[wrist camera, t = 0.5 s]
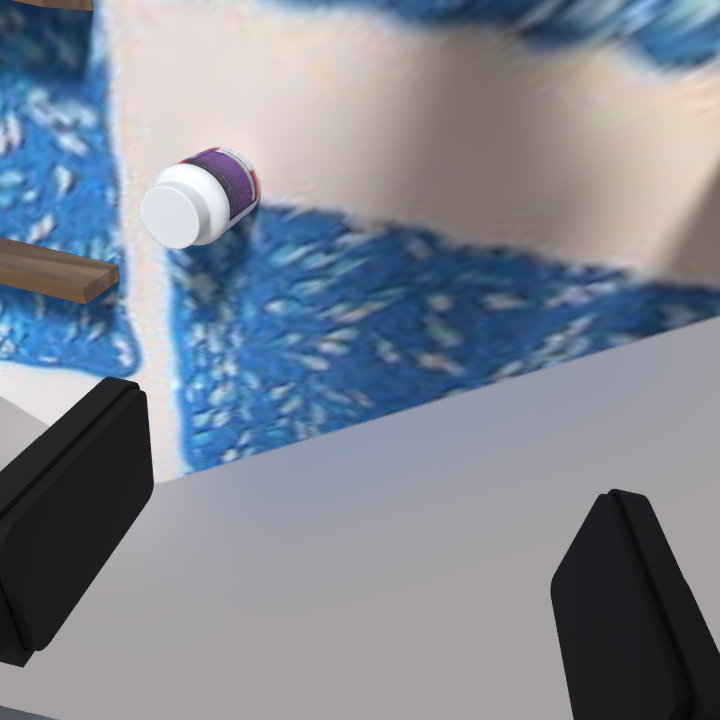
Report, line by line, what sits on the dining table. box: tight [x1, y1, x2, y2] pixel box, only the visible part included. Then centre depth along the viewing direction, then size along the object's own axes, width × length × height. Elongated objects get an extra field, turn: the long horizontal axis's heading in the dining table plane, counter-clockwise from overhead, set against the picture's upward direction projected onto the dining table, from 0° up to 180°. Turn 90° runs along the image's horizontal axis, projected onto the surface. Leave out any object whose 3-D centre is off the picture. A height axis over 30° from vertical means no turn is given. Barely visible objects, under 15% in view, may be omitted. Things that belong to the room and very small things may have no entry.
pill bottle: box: [139, 147, 260, 249], centre depth 36 cm, size 5×5×10 cm
